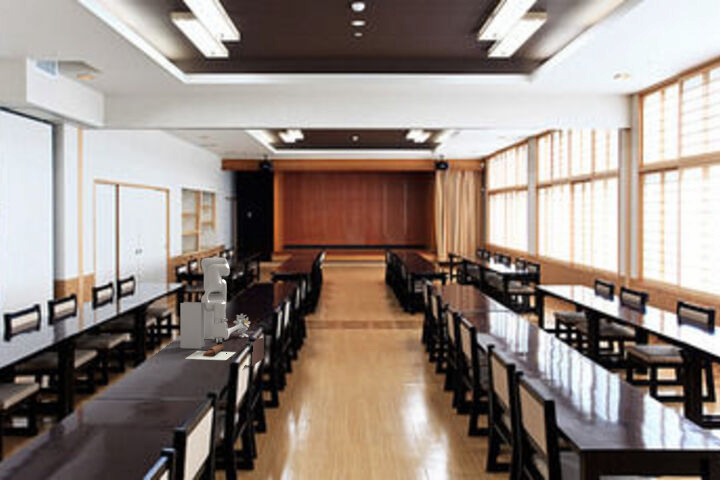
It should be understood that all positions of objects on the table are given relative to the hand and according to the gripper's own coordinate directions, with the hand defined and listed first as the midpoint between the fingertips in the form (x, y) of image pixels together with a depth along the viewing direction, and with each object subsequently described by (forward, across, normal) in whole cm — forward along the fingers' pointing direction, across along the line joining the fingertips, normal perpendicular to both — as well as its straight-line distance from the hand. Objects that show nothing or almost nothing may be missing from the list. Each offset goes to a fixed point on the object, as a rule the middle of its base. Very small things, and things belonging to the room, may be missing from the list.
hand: (219, 347), depth 368 cm
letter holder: (+1, -29, +28) cm, 40 cm away
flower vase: (+2, +1, -35) cm, 35 cm away
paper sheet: (+1, 0, +16) cm, 16 cm away
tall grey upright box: (+1, +20, -4) cm, 20 cm away
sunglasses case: (+1, 0, +10) cm, 10 cm away
